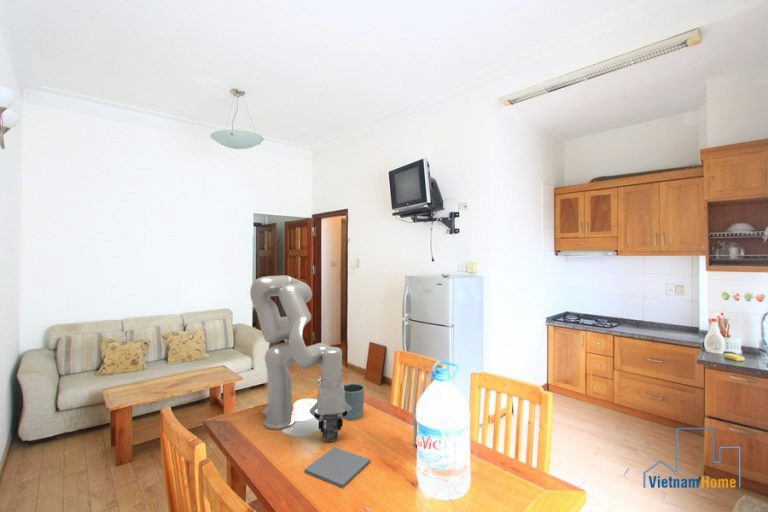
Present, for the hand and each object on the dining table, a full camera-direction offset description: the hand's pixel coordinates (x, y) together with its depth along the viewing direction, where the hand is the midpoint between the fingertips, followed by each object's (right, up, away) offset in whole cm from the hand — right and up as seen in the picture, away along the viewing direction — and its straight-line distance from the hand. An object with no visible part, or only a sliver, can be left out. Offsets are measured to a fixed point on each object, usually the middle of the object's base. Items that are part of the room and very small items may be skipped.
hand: (330, 429), depth 132 cm
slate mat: (+5, -4, -17) cm, 19 cm away
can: (+34, -4, -4) cm, 35 cm away
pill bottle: (0, -3, 0) cm, 3 cm away
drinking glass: (+6, -4, +19) cm, 21 cm away
